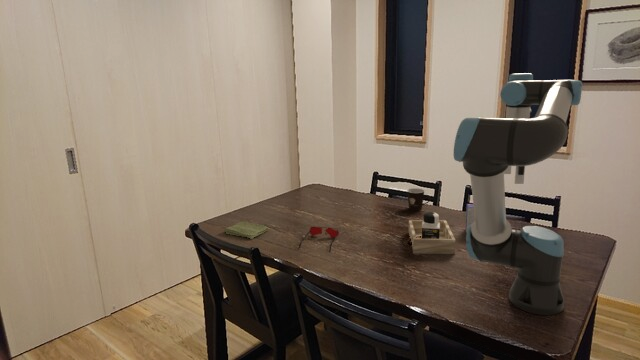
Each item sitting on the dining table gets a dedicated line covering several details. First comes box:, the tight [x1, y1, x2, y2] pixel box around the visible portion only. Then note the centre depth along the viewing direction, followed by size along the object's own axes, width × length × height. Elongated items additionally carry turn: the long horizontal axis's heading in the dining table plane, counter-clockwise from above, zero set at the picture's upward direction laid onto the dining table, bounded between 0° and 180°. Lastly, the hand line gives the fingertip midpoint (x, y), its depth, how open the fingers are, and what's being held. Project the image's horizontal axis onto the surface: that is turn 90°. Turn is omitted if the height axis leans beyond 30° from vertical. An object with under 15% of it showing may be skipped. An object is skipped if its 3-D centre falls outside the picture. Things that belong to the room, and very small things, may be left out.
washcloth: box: [223, 221, 269, 240], centre depth 197 cm, size 13×18×3 cm
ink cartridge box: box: [464, 203, 475, 234], centre depth 186 cm, size 10×6×14 cm, turn 78°
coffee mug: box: [406, 187, 431, 212], centre depth 217 cm, size 12×9×10 cm
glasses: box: [298, 226, 340, 253], centre depth 181 cm, size 14×16×5 cm
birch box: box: [408, 219, 456, 255], centre depth 177 cm, size 22×16×6 cm
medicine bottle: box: [422, 211, 440, 239], centre depth 176 cm, size 7×7×12 cm
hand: (512, 178), depth 152 cm, fingers open, 13 cm apart
